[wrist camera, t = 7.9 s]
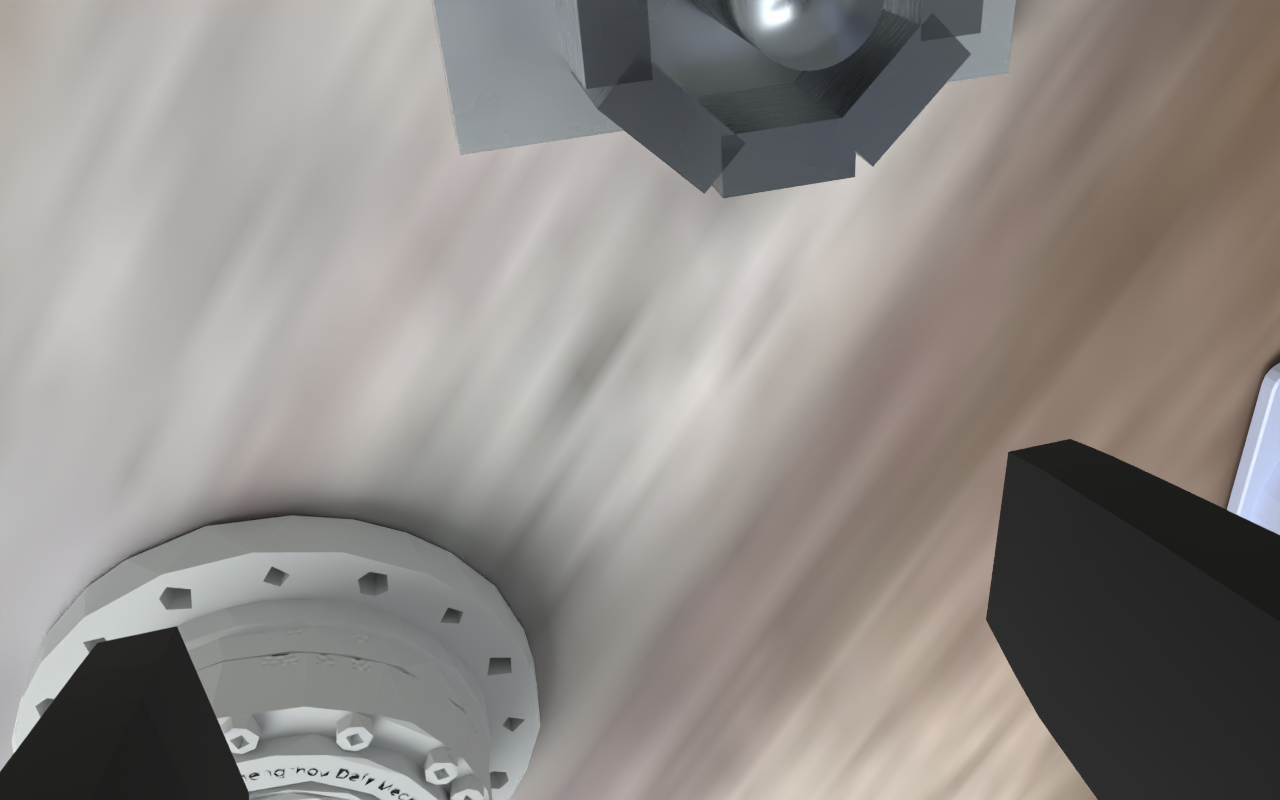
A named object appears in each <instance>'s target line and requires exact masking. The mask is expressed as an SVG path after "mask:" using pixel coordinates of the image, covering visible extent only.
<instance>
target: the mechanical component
mask: <svg viewBox="0 0 1280 800" xmlns="http://www.w3.org/2000/svg"><path fill="white" fill-rule="evenodd" d="M175 626H177V627H178V630H179V632H180V634H181V637H182V639H183V641H184V644H185V646H186V648H187V650H188V653H189V655H190V657H191V660H192V662H193V664H194V667H195V669H196V671H197V674H198V676H199V678H200V681H201V683H202V685H203V687H204V690H205V692H206V694H207V697H208V699H209V701H210V704H211V706H212V708H213V711H214V713H215V715H216V718H217V720H218V722H219V724H220V727H221V729H222V731H223V734H224V736H225V738H226V741H227V743H228V745H229V748H230V750H231V752H232V755H233V757H234V759H235V761H236V764H237V766H238V768H239V771H240V773H241V775H242V778H243V780H244V782H245V785H246V787H247V789H248V792H249V800H509V799H510V797H511V796H512V794H513V792H514V791H515V789H516V787H517V785H518V784H519V782H520V780H521V779H522V777H523V775H524V773H525V772H526V770H527V768H528V765H529V761H530V758H531V755H532V752H533V748H534V745H535V742H536V739H537V735H538V732H539V729H540V716H539V704H538V692H537V682H536V674H535V667H534V661H533V658H532V654H531V651H530V648H529V644H528V641H527V638H526V635H525V631H524V629H523V628H522V626H521V625H520V623H519V622H518V620H517V619H516V617H515V616H514V614H513V612H512V611H511V609H510V608H509V606H508V605H507V603H506V602H505V600H504V599H503V597H502V596H501V594H500V593H499V591H498V590H497V588H496V587H495V586H494V585H493V584H492V583H490V582H489V581H488V580H486V579H485V578H484V577H482V576H481V575H480V574H478V573H477V572H476V571H474V570H473V569H472V568H470V567H469V566H468V565H467V564H465V563H464V562H463V561H461V560H460V559H459V558H457V557H456V556H455V555H453V554H452V553H451V552H448V551H446V550H444V549H442V548H440V547H437V546H435V545H433V544H431V543H429V542H426V541H424V540H422V539H420V538H418V537H415V536H413V535H411V534H409V533H406V532H402V531H398V530H394V529H390V528H386V527H382V526H378V525H374V524H370V523H366V522H362V521H358V520H354V519H340V518H325V517H310V516H295V515H291V516H283V517H275V518H267V519H259V520H251V521H242V522H234V523H226V524H218V525H210V526H205V527H202V528H200V529H198V530H195V531H193V532H190V533H188V534H186V535H183V536H181V537H179V538H176V539H174V540H172V541H169V542H167V543H164V544H162V545H160V546H157V547H155V548H153V549H150V550H148V551H145V552H143V553H141V554H138V555H136V556H134V557H131V558H129V559H127V560H125V561H123V562H122V563H120V564H119V565H118V566H116V567H115V568H113V569H112V570H111V571H109V572H108V573H106V574H105V575H103V576H102V577H101V578H99V579H98V580H96V581H95V582H94V583H92V584H91V585H89V586H88V587H87V588H85V590H84V591H83V592H82V593H81V594H80V595H79V597H78V598H77V599H76V600H75V601H74V602H73V604H72V605H71V606H70V607H69V608H68V609H67V610H66V612H65V613H64V614H63V615H62V616H61V617H60V619H59V620H58V621H57V622H56V623H55V624H54V626H53V627H52V628H51V629H50V630H49V631H48V633H47V634H46V637H45V639H44V642H43V645H42V647H41V650H40V652H39V655H38V657H37V660H36V662H35V665H34V667H33V670H32V673H31V675H30V678H29V680H28V683H27V685H26V688H25V690H24V693H23V695H22V698H21V701H20V705H19V709H18V714H17V718H16V723H15V727H14V732H13V736H12V747H13V754H14V753H15V751H16V750H17V749H18V747H19V746H20V744H21V743H22V742H23V740H24V739H25V738H26V736H27V735H28V734H29V732H30V731H31V730H32V728H33V727H34V726H35V724H36V723H37V722H38V720H39V719H40V718H41V716H42V715H43V713H44V712H45V711H46V709H47V708H48V707H49V705H50V704H51V703H52V701H53V700H54V699H55V697H56V696H57V695H58V693H59V692H60V691H61V689H62V688H63V687H64V685H65V684H66V683H67V681H68V680H69V679H70V678H71V676H72V675H73V674H74V672H75V671H76V670H77V668H78V667H79V666H80V664H81V663H82V662H83V660H84V659H85V658H86V656H87V655H88V654H89V653H90V651H91V650H92V649H93V647H94V646H95V645H96V644H97V643H99V642H104V641H108V640H113V639H118V638H123V637H127V636H132V635H137V634H142V633H146V632H151V631H156V630H161V629H166V628H170V627H175Z"/></svg>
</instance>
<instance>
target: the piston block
mask: <svg viewBox="0 0 1280 800" xmlns="http://www.w3.org/2000/svg"><path fill="white" fill-rule="evenodd" d="M432 4H433V10H434V15H435V21H436V27H437V32H438V38H439V43H440V49H441V55H442V60H443V66H444V72H445V77H446V83H447V89H448V94H449V100H450V106H451V111H452V117H453V123H454V128H455V134H456V138H457V142H458V146H459V150H460V154H461V155H463V154H470V153H476V152H483V151H490V150H496V149H503V148H510V147H516V146H523V145H530V144H537V143H543V142H550V141H557V140H563V139H570V138H577V137H583V136H590V135H597V134H603V133H610V132H617V131H623V130H624V131H625V132H627V133H628V134H629V135H631V136H632V137H633V138H634V139H636V140H637V141H638V142H639V143H641V144H642V145H643V146H645V147H646V148H647V149H648V150H650V151H651V152H652V153H653V154H655V155H656V156H657V157H658V158H660V159H661V160H662V161H664V162H665V163H666V164H667V165H669V166H670V167H671V168H672V169H674V170H675V171H676V172H677V173H679V174H680V175H681V176H683V177H684V178H685V179H686V180H688V181H689V182H690V183H691V184H693V185H694V186H695V187H697V188H698V189H699V190H700V191H702V192H703V193H705V192H706V191H707V190H708V189H709V187H710V186H711V185H712V186H713V187H714V188H715V189H716V191H717V192H718V193H719V194H720V195H721V196H722V198H728V197H734V196H740V195H746V194H752V193H758V192H765V191H771V190H777V189H783V188H789V187H795V186H802V185H808V184H814V183H820V182H826V181H832V180H839V179H845V178H851V177H855V157H856V154H857V155H858V156H860V157H861V158H862V159H864V160H865V161H866V162H867V163H869V164H870V165H871V166H874V165H875V163H876V162H877V161H878V160H879V159H880V158H881V157H882V155H883V154H884V153H885V152H886V151H887V150H888V149H889V147H890V146H891V145H892V144H893V143H894V142H895V141H896V139H897V138H898V137H899V136H900V135H901V134H902V133H903V131H904V130H905V129H906V128H907V127H908V126H909V125H910V123H911V122H912V121H913V120H914V119H915V118H916V117H917V116H918V114H919V113H920V112H921V111H922V110H923V109H924V108H925V106H926V105H927V104H928V103H929V102H930V101H931V100H932V98H933V97H934V96H935V95H936V94H937V93H938V92H939V90H940V89H941V88H942V87H943V86H944V85H945V84H946V82H950V81H957V80H964V79H970V78H977V77H984V76H991V75H997V74H1004V73H1008V70H1009V60H1010V51H1011V42H1012V32H1013V23H1014V14H1015V4H1016V0H432Z"/></svg>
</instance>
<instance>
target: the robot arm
mask: <svg viewBox="0 0 1280 800" xmlns="http://www.w3.org/2000/svg"><path fill="white" fill-rule="evenodd" d="M986 620H987V622H988V624H989V626H990V628H991V630H992V632H993V634H994V636H995V637H996V639H997V641H998V643H999V645H1000V647H1001V649H1002V651H1003V653H1004V655H1005V657H1006V658H1007V660H1008V662H1009V664H1010V666H1011V668H1012V670H1013V672H1014V674H1015V675H1016V677H1017V679H1018V681H1019V682H1020V684H1021V686H1022V688H1023V690H1024V691H1025V693H1026V695H1027V697H1028V698H1029V700H1030V702H1031V704H1032V705H1033V707H1034V709H1035V711H1036V712H1037V714H1038V716H1039V718H1040V719H1041V720H1042V722H1043V723H1044V725H1045V726H1046V728H1047V729H1048V730H1049V732H1050V733H1051V735H1052V736H1053V738H1054V739H1055V740H1056V742H1057V743H1058V745H1059V746H1060V747H1061V749H1062V750H1063V752H1064V753H1065V754H1066V756H1067V757H1068V759H1069V760H1070V761H1071V763H1072V764H1073V766H1074V767H1075V768H1076V770H1077V771H1078V773H1079V774H1080V775H1081V777H1082V778H1083V780H1084V781H1085V782H1086V784H1087V785H1088V787H1089V788H1090V789H1091V791H1092V792H1093V794H1094V795H1095V796H1096V798H1097V799H1098V800H1280V363H1278V364H1277V365H1275V366H1274V367H1273V368H1271V369H1270V370H1269V372H1268V373H1267V374H1266V375H1265V377H1264V380H1263V382H1262V385H1261V389H1260V392H1259V396H1258V400H1257V403H1256V407H1255V410H1254V414H1253V417H1252V421H1251V425H1250V428H1249V432H1248V435H1247V439H1246V443H1245V446H1244V450H1243V453H1242V457H1241V460H1240V464H1239V468H1238V471H1237V475H1236V478H1235V482H1234V486H1233V489H1232V493H1231V496H1230V500H1229V504H1228V507H1227V510H1226V509H1224V508H1222V507H1219V506H1217V505H1215V504H1213V503H1211V502H1209V501H1207V500H1205V499H1203V498H1201V497H1198V496H1196V495H1194V494H1192V493H1190V492H1188V491H1186V490H1184V489H1182V488H1179V487H1177V486H1175V485H1173V484H1171V483H1169V482H1167V481H1165V480H1163V479H1160V478H1158V477H1156V476H1154V475H1152V474H1150V473H1148V472H1145V471H1143V470H1141V469H1139V468H1137V467H1135V466H1133V465H1130V464H1128V463H1126V462H1124V461H1121V460H1119V459H1117V458H1115V457H1113V456H1110V455H1108V454H1106V453H1103V452H1101V451H1099V450H1096V449H1094V448H1092V447H1089V446H1087V445H1084V444H1082V443H1079V442H1077V441H1074V440H1071V439H1068V440H1063V441H1058V442H1054V443H1049V444H1044V445H1039V446H1035V447H1030V448H1025V449H1020V450H1016V451H1011V452H1008V459H1007V467H1006V474H1005V482H1004V489H1003V497H1002V504H1001V512H1000V519H999V527H998V534H997V542H996V550H995V557H994V565H993V572H992V580H991V587H990V595H989V602H988V610H987V617H986ZM0 800H249V792H248V789H247V787H246V785H245V782H244V780H243V778H242V775H241V773H240V771H239V768H238V766H237V764H236V761H235V759H234V757H233V755H232V752H231V750H230V748H229V745H228V743H227V741H226V738H225V736H224V734H223V731H222V729H221V727H220V724H219V722H218V720H217V718H216V715H215V713H214V711H213V708H212V706H211V704H210V701H209V699H208V697H207V694H206V692H205V690H204V687H203V685H202V683H201V681H200V678H199V676H198V674H197V671H196V669H195V667H194V664H193V662H192V660H191V657H190V655H189V653H188V650H187V648H186V646H185V644H184V641H183V639H182V637H181V634H180V632H179V630H178V627H177V626H175V627H170V628H166V629H161V630H156V631H151V632H146V633H142V634H137V635H132V636H127V637H123V638H118V639H113V640H108V641H104V642H99V643H97V644H96V645H95V646H94V647H93V649H92V650H91V651H90V653H89V654H88V655H87V656H86V658H85V659H84V660H83V662H82V663H81V664H80V666H79V667H78V668H77V670H76V671H75V672H74V674H73V675H72V676H71V678H70V679H69V680H68V681H67V683H66V684H65V685H64V687H63V688H62V689H61V691H60V692H59V693H58V695H57V696H56V697H55V699H54V700H53V701H52V703H51V704H50V705H49V707H48V708H47V709H46V711H45V712H44V713H43V715H42V716H41V718H40V719H39V720H38V722H37V723H36V724H35V726H34V727H33V728H32V730H31V731H30V732H29V734H28V735H27V736H26V738H25V739H24V740H23V742H22V743H21V744H20V746H19V747H18V749H17V750H16V751H15V753H14V754H13V755H12V757H11V758H10V759H9V761H8V762H7V763H6V765H5V766H4V767H3V769H2V770H1V771H0Z"/></svg>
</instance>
